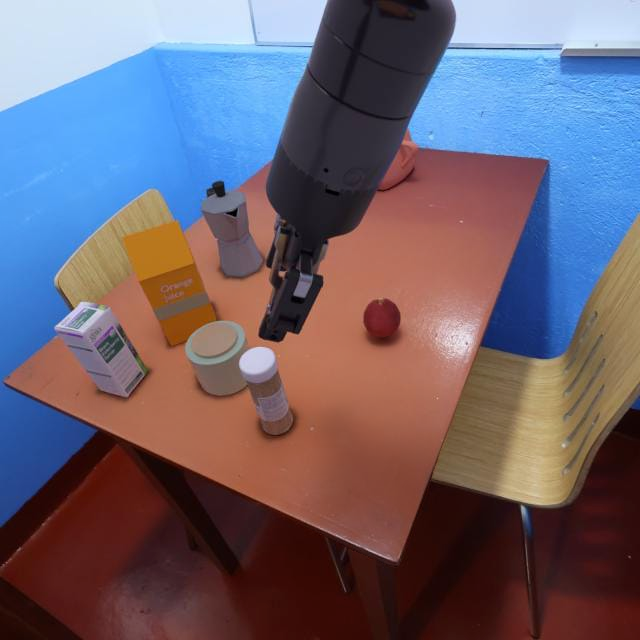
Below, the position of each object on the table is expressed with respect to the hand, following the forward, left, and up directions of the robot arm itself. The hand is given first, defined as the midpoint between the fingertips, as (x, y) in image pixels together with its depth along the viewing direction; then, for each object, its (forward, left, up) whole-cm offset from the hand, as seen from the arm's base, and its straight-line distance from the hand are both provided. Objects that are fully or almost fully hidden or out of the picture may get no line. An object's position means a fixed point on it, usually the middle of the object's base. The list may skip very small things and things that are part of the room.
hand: (273, 300), depth 43 cm
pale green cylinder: (+4, +20, -27) cm, 34 cm away
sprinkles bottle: (+1, +7, -27) cm, 28 cm away
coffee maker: (+27, +39, -27) cm, 55 cm away
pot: (+70, +32, -27) cm, 82 cm away
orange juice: (+9, +34, -27) cm, 45 cm away
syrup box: (-6, +34, -27) cm, 44 cm away
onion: (+23, +3, -27) cm, 36 cm away
